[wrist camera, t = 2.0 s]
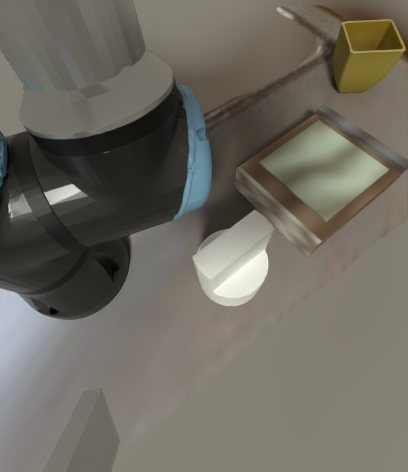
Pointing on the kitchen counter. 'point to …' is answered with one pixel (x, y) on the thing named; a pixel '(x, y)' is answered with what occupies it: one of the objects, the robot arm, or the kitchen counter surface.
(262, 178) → the dock
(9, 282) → the robot arm
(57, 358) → the kitchen counter surface
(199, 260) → the cylinder with rectangular tab
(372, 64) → the flower pot
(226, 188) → the kitchen counter surface
